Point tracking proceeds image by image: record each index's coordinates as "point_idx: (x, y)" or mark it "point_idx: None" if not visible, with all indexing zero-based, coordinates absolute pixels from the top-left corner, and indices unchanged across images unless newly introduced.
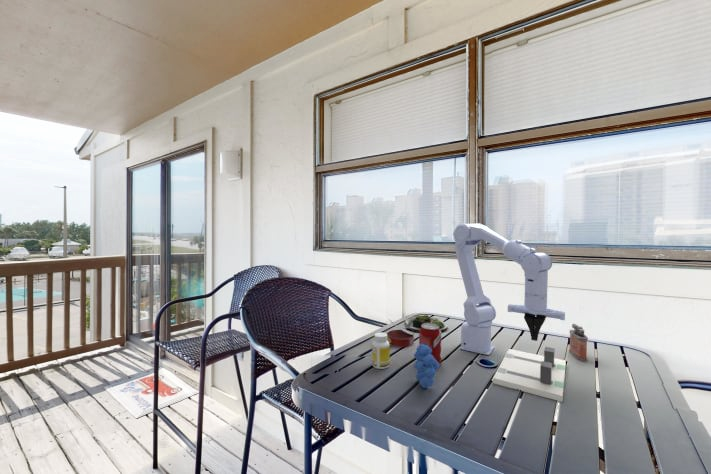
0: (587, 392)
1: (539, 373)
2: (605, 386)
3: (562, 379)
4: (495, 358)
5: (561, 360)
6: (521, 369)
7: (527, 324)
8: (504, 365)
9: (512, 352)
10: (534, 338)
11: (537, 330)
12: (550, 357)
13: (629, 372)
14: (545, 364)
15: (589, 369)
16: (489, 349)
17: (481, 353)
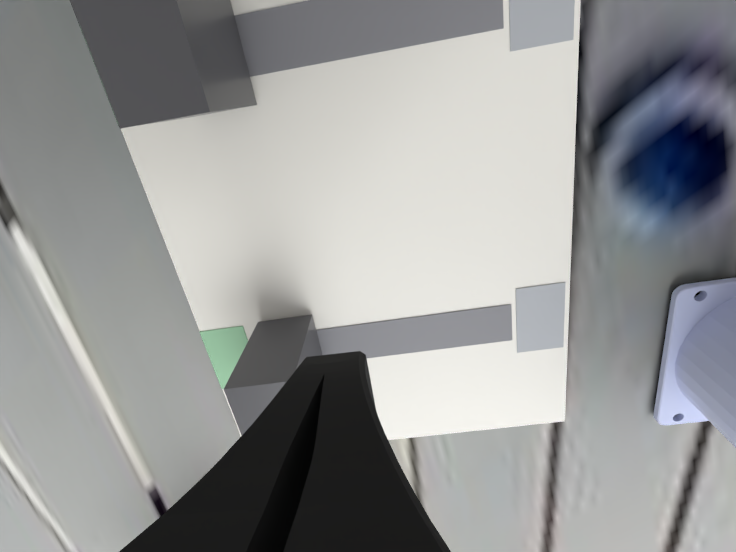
0: (36, 173)
1: (292, 164)
2: (25, 317)
3: (148, 177)
4: (620, 274)
5: None
6: (413, 140)
7: (430, 532)
8: (542, 117)
9: (533, 383)
10: (322, 367)
11: (235, 463)
12: (260, 357)
13: (44, 516)
14: (139, 28)
15: (161, 453)
16: (687, 351)
17: (730, 278)
